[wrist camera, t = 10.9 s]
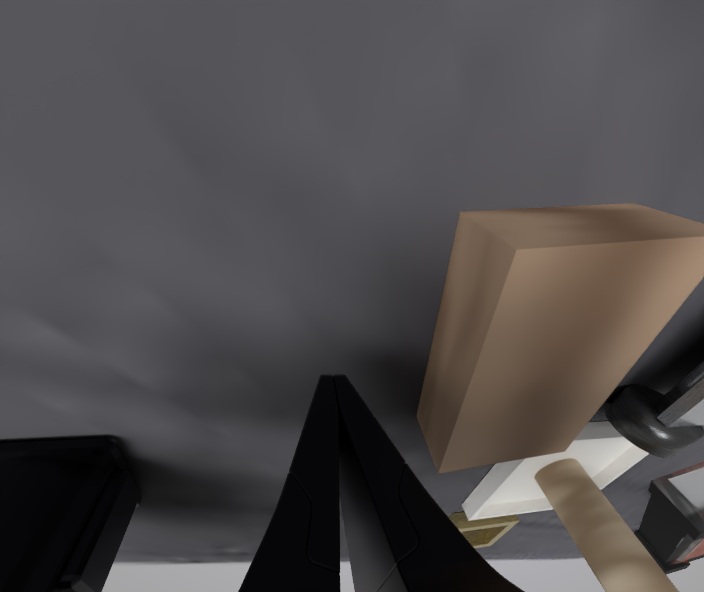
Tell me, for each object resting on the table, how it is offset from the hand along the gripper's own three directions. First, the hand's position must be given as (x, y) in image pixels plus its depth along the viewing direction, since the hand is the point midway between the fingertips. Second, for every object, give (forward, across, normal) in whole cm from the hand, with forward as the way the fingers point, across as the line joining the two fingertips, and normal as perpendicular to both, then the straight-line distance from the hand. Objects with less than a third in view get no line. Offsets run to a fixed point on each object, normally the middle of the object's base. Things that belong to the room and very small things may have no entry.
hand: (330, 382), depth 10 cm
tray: (+3, -21, +14) cm, 25 cm away
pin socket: (+3, -18, +25) cm, 31 cm away
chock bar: (+3, -9, 0) cm, 9 cm away
